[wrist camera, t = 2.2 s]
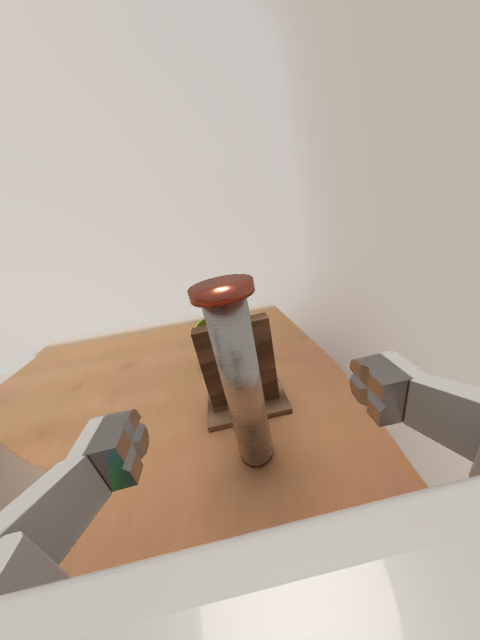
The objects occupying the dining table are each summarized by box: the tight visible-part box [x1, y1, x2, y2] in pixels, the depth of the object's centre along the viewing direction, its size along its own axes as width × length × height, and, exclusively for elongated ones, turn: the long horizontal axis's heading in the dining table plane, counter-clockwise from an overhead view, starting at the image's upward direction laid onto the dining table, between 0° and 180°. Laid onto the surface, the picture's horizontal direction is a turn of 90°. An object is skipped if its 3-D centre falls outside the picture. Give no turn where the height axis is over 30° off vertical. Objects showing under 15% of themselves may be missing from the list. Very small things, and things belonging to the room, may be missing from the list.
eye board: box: [191, 313, 292, 432], centre depth 32 cm, size 7×12×14 cm, turn 97°
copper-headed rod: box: [188, 274, 273, 466], centre depth 28 cm, size 15×6×21 cm, turn 7°
